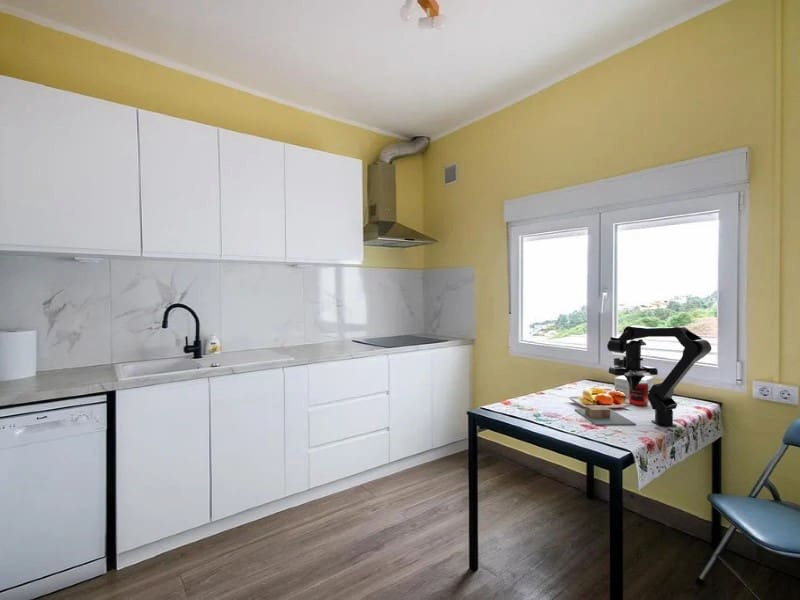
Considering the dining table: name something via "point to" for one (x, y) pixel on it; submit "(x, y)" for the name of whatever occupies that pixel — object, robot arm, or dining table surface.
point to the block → (597, 411)
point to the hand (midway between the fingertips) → (632, 390)
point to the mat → (607, 419)
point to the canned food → (639, 394)
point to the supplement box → (623, 384)
